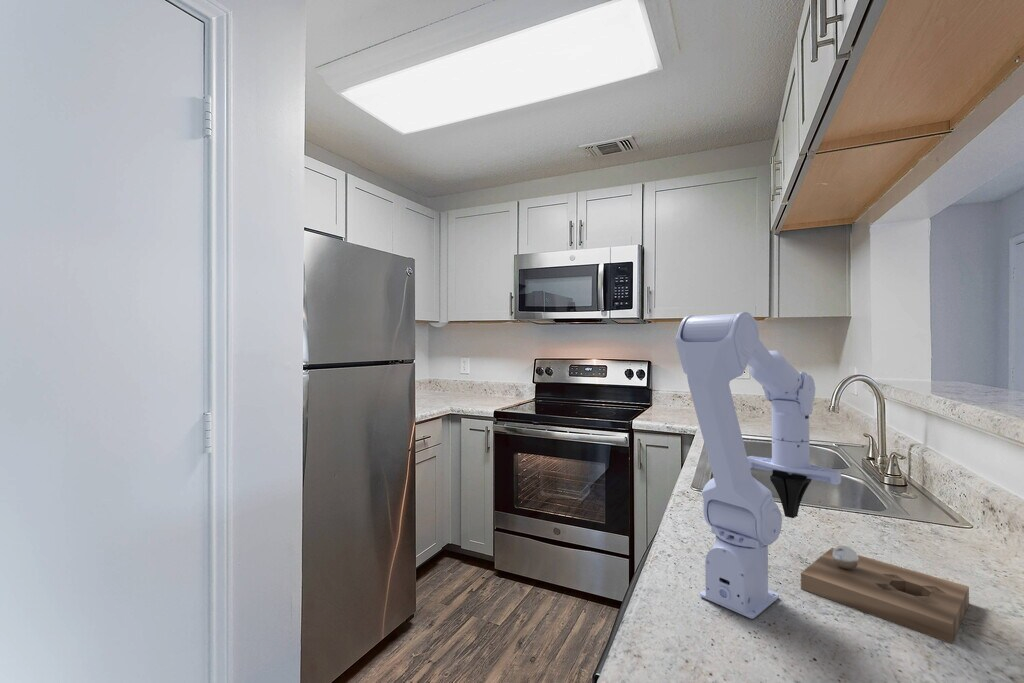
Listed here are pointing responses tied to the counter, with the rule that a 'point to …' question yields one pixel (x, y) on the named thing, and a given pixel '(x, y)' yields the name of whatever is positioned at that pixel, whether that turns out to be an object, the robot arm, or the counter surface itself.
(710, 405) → the robot arm
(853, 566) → the steel ball
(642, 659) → the counter surface
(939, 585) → the walnut plate
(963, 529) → the counter surface
